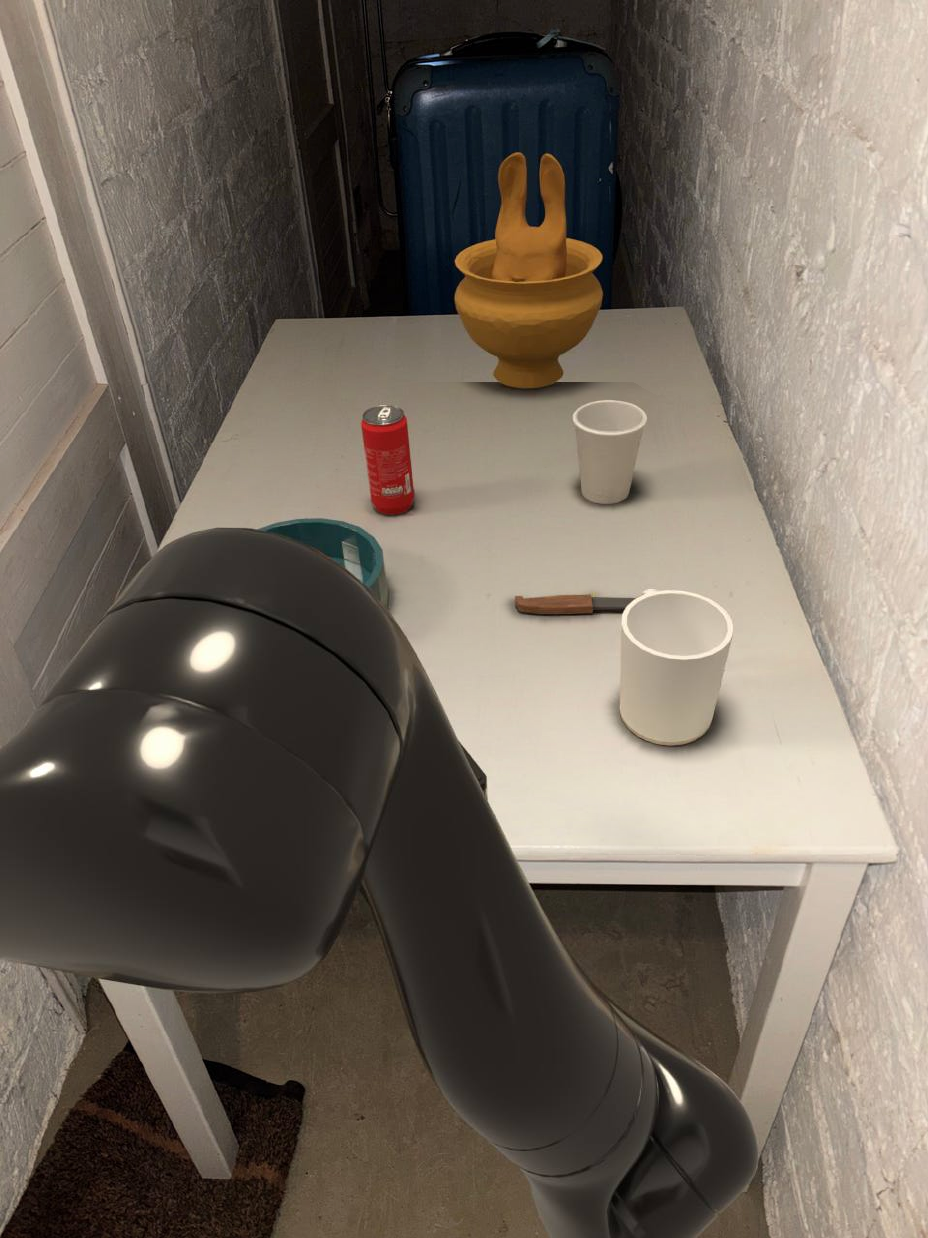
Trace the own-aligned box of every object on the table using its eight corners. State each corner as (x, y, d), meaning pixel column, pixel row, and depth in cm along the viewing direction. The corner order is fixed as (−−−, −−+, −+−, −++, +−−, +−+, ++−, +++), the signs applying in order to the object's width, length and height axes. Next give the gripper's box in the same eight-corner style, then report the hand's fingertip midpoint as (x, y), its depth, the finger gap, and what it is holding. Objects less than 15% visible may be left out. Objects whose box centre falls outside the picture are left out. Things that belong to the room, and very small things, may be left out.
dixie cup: (638, 512, 106) (645, 434, 100) (566, 507, 107) (569, 430, 101) (642, 476, 112) (648, 400, 106) (574, 471, 114) (576, 397, 107)
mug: (734, 739, 78) (752, 648, 71) (635, 759, 76) (644, 668, 70) (683, 657, 86) (695, 568, 80) (593, 674, 85) (598, 585, 78)
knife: (677, 586, 93) (682, 604, 90) (676, 594, 93) (681, 612, 91) (514, 590, 93) (515, 608, 91) (514, 598, 94) (515, 616, 92)
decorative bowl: (436, 393, 133) (420, 170, 114) (488, 339, 148) (482, 134, 129) (574, 412, 126) (582, 179, 107) (615, 353, 141) (627, 139, 122)
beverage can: (367, 516, 108) (354, 424, 101) (377, 493, 112) (366, 403, 104) (410, 518, 107) (400, 425, 100) (418, 495, 111) (410, 404, 104)
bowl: (239, 681, 86) (228, 641, 83) (204, 581, 99) (194, 543, 96) (412, 628, 91) (408, 589, 88) (357, 540, 104) (352, 502, 101)
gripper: (549, 810, 53) (409, 661, 64) (332, 935, 48) (218, 748, 58) (547, 885, 58) (417, 735, 69) (350, 1007, 52) (242, 822, 63)
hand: (326, 741), depth 64 cm, fingers open, 8 cm apart
